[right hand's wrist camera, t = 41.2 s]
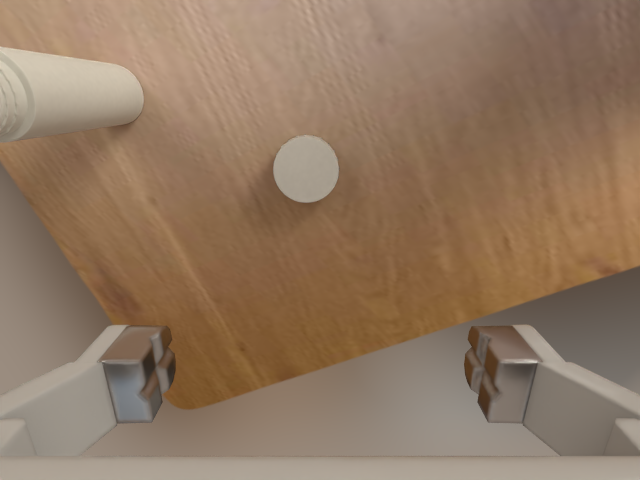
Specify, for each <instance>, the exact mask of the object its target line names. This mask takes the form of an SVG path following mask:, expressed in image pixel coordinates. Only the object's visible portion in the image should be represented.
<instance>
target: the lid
mask: <svg viewBox="0 0 640 480" xmlns="http://www.w3.org/2000/svg"><path fill="white" fill-rule="evenodd" d="M273 163H274V166H273V173H274V178H275V181H276V184H277V186H278V187H279V189H280V190H281V191H282V192H283V193H284V194H285V195H286V196H287V197H289V198H290V199H292V200H294V201H297V202H302V203H311V202H316V201H318V200H321V199H323V198H324V197H326V196H327V195H328V194H329V193H330V192H331V191H332V190H333V188H334V187H335V185H336V182H337V179H338V175H339V166H338V158H337V157H336V155H335V151H334V150H333V149H332V148H331V146H330V145H329V143H327V142H325V141H324V140H322V138H318V137H316V136H314V135H313V136H311V135H306V134H305V135H301V136H296V137H294V138H292V139H291V140H290V139H289V140H288V141H287V142H286V143H285V144H284V145H282V146H281V149H280V151H279V152H277V154H276V158H275V161H274V162H273Z"/></svg>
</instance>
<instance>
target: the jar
mask: <svg viewBox="0 0 640 480" xmlns="http://www.w3.org/2000/svg"><path fill="white" fill-rule="evenodd" d="M143 104H144V95H143V91H142V88H141V85H140V83H139V81H138V80H137V78H136V77H135V76H134V75H133V74H132V73H131V72H130V71H129V70H127V69H126V68H124V67H122V66H120V65H117V64H112V63H105V62H99V61H92V60H85V59H79V58H72V57H65V56H59V55H52V54H45V53H38V52H32V51H25V50H18V49H12V48H5V47H0V142H11V141H18V140H25V139H31V138H38V137H44V136H51V135H58V134H64V133H71V132H77V131H84V130H91V129H97V128H104V127H110V126H117V125H124V124H128V123H130V122H132V121H134V120H135V119H136V118H137V117H138V116H139V115H140V113H141V111H142V109H143Z"/></svg>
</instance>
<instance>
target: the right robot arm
mask: <svg viewBox="0 0 640 480" xmlns="http://www.w3.org/2000/svg"><path fill="white" fill-rule="evenodd" d="M171 341H172V336H171V331H170V328H169V327H168V326H152V325H111V326H108V327H107V328H106V329H105V330H104V331H103V332H102V333H101V334H100V335H99V336H98V337H97V338H96V340H95V341H94V342H93V343H92V344H91V345H90V346H89V347H88V348H87V349H86V350H85V351H84V352H83V354H82V355H81V356H80V357H79V358H78V359H77V360H76V361H75V362H68V363H66V364H64V365H62V366H60V367H57V368H55V369H53V370H51V371H49V372H47V373H45V374H43V375H41V376H39V377H37V378H35V379H32V380H30V381H28V382H26V383H24V384H22V385H20V386H18V387H16V388H14V389H11V390H9V391H7V392H5V393H3V394H1V395H0V480H640V395H639V394H637V393H635V392H633V391H631V390H628V389H626V388H624V387H622V386H620V385H618V384H616V383H614V382H612V381H610V380H608V379H605V378H603V377H601V376H599V375H597V374H595V373H593V372H591V371H589V370H587V369H585V368H582V367H580V366H578V365H576V364H574V363H572V362H565V361H564V360H563V359H562V358H561V357H560V356H559V355H558V354H557V352H556V351H555V350H554V349H553V348H552V347H551V346H550V345H549V344H548V343H547V342H546V341H545V340H544V338H543V337H542V336H541V335H540V334H539V333H538V332H537V331H536V330H535V329H534V328H533V327H532V326H530V325H509V326H472V327H471V329H470V331H469V335H468V341H469V342H470V344H471V346H472V347H471V348H470V349H469V350H468V351H467V353H466V354H465V362H464V367H465V376H466V379H467V382H468V384H469V386H470V388H471V390H473V391H474V392H476V393H477V394H479V397H478V404H479V406H480V408H481V410H482V412H483V414H484V415H485V417H486V419H487V421H488V422H489V423H523V426H525V427H526V428H527V429H528V430H529V431H531V432H532V433H533V434H534V435H536V436H537V437H538V438H539V439H540V440H542V441H543V442H544V443H545V444H547V445H548V446H549V447H550V448H551V449H553V450H554V451H555V452H556V453H558V454H559V455H560V456H80V455H81V454H83V453H84V452H85V451H86V450H88V449H89V448H90V447H91V446H92V445H94V444H95V443H96V442H97V441H99V440H100V439H101V438H102V437H103V436H105V435H106V434H107V433H108V432H109V431H111V430H112V429H113V428H114V427H116V426H117V423H151V422H152V421H153V419H154V417H155V415H156V414H157V412H158V410H159V408H160V406H161V404H162V397H161V394H163V393H164V392H166V391H167V390H169V388H170V386H171V384H172V382H173V379H174V375H175V369H176V361H175V354H174V353H173V351H172V350H171V349H170V348H169V347H168V346H169V344H170V342H171Z"/></svg>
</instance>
